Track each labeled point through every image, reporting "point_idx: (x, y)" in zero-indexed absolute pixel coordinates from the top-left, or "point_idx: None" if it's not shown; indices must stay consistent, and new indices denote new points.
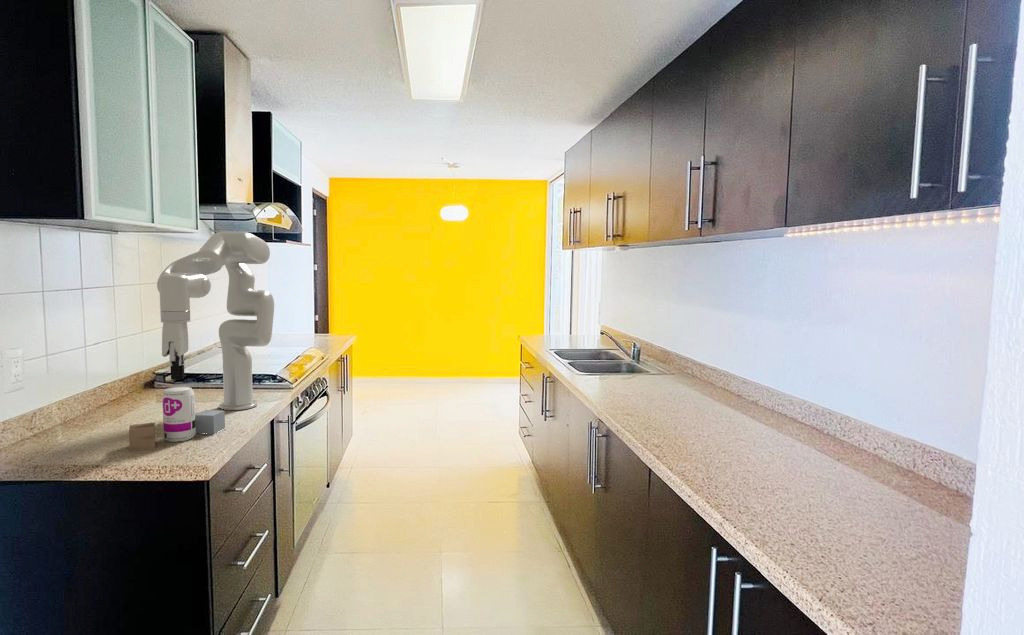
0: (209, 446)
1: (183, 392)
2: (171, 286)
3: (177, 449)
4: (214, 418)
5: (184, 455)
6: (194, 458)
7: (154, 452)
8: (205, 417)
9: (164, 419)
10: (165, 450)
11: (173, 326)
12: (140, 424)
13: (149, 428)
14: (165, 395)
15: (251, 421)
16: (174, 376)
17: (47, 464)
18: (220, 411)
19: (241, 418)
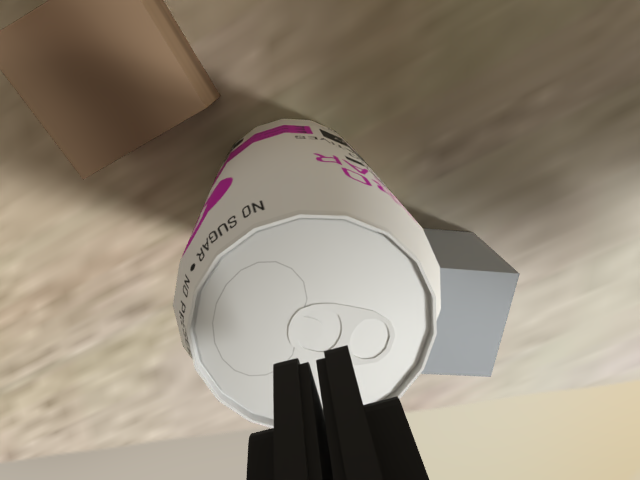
0: (182, 376)
1: (237, 405)
2: None
3: (119, 270)
4: None
5: (43, 341)
6: (16, 396)
7: (55, 189)
8: None
9: (220, 175)
10: (95, 224)
11: None
12: (141, 36)
13: (65, 155)
14: (189, 258)
15: (571, 373)
16: (253, 439)
17: None
18: (474, 364)
19: (635, 310)
